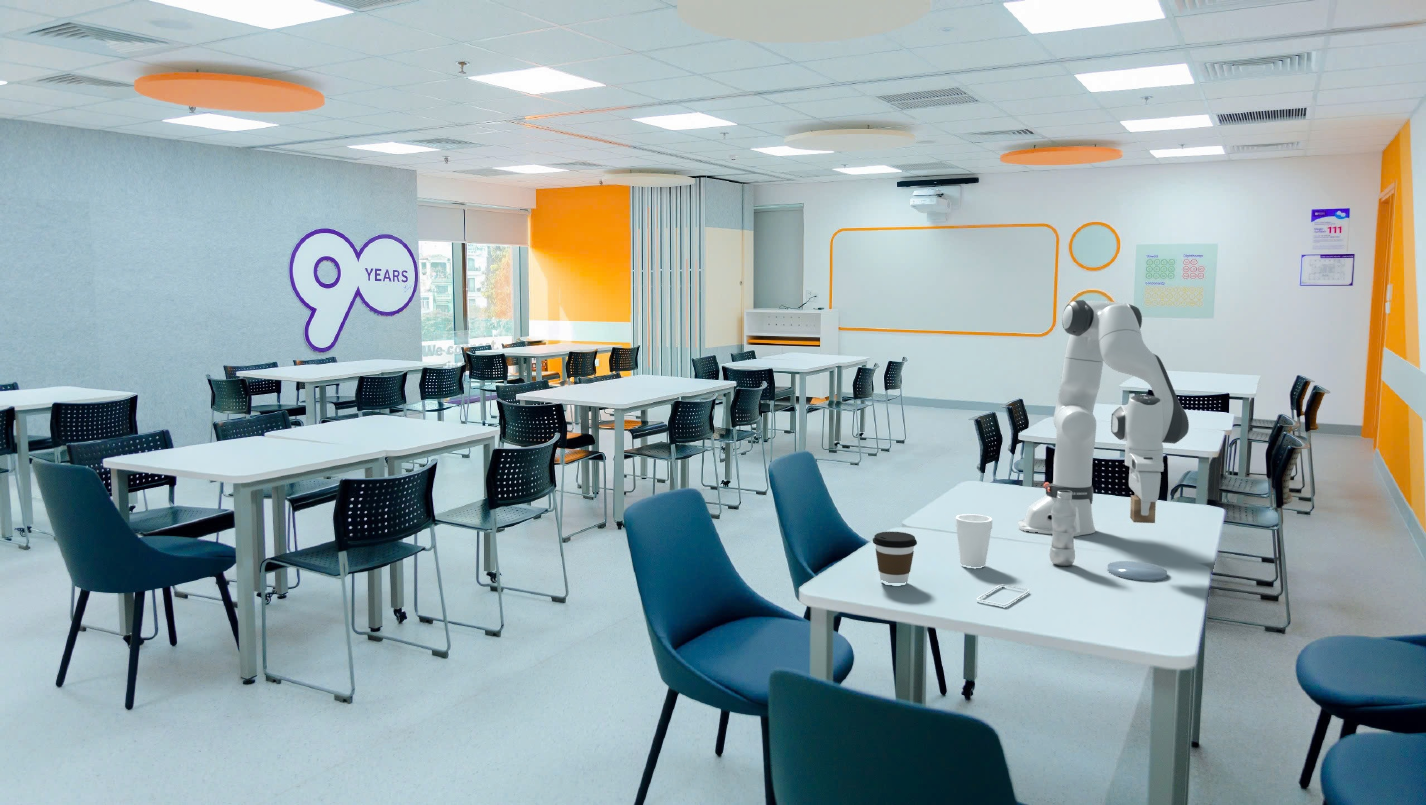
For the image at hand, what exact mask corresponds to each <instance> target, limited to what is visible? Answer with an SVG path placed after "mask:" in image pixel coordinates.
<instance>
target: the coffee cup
mask: <svg viewBox="0 0 1426 805" xmlns="http://www.w3.org/2000/svg"><path fill="white" fill-rule="evenodd" d="M873 536H874V537H873V538H872V544H874V545H875V554H876V555H875V556H876V562H877V567H878V572H879V578H880V581H881V580H883V581H886V582H888V583H905V582H907V583H908V581H909V574H910V572H911V570H912V563H913V558H914V553H915V551H914V547H915V546H917V545H918V541H917V539H916V537H915V535H913V534H911V533H908V532H902V531H882V532H878V533H875V534H874V535H873Z"/></svg>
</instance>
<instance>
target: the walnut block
mask: <svg viewBox="0 0 1426 805" xmlns="http://www.w3.org/2000/svg"><path fill="white" fill-rule="evenodd" d="M1156 503H1157V501H1156V502H1151V504H1150V507H1149V515H1147V516H1146V515H1141V513H1140V507H1141V499H1140V498H1139V497H1138V496H1137V495H1135V494H1134V495H1132V494H1131V495H1130V516H1129V517H1130V519H1131V521H1132V522H1133V523H1142V524H1143V523H1144V524H1156V506H1157V504H1156Z"/></svg>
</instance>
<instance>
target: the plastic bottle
mask: <svg viewBox="0 0 1426 805" xmlns="http://www.w3.org/2000/svg"><path fill="white" fill-rule="evenodd" d="M1057 498H1058V500H1057V501H1056V503H1055V504H1054V505H1053V507H1052V510H1051V514H1052V523H1053V534H1052V536H1051V537H1052V538H1051V546H1050V550H1049V555H1048V556H1049V560H1050V562H1051V564H1054V565H1056V566H1063V567H1064V566H1066V567H1068V566H1071V565H1073V564H1074V563H1075V559H1076V553H1075V552H1076V550H1075V543H1074V539H1075V538H1074V536H1073V535H1074V532H1073V531H1074V525H1075V519H1076V513H1077V511H1076V508H1075V506H1074V505H1073V503H1072V502H1071V499H1072V492H1071V491H1067V490H1058V492H1057Z"/></svg>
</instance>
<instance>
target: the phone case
mask: <svg viewBox="0 0 1426 805" xmlns="http://www.w3.org/2000/svg"><path fill="white" fill-rule="evenodd" d="M1000 586H1008V587H1007V588H1012V589H1018V590H1023V591H1024V592H1023V593H1021V594H1019V595H1018V596H1016V597H1015V598H1012V599H1011V600H1009V601H1008V602H1006V603H999V602H994V601H989V600H986V599H985V600H984V599H981V597H982V598H984V597H985V596H986V594H988V593H990V592H991V591H993V590H994V589H997V588H998V587H1000ZM1025 590H1026V592H1025ZM1028 592H1029V593H1030V589H1027V588H1022V587H1016V586H1012V585H1007V584H1003V583H1002V584H999V585H997V586H995V587H993V588H992V589H990V590H989V591H987V592H985V593H983V594H981V595H980V596H978V597H976V599H975V600H980V601H983V602H988V603H994V604H998V605H1002V606H1006V605H1008V604H1010V603H1012V602H1014V601H1015V600H1017V599H1018V598H1021V597H1022V596H1023V595H1025V594H1027V593H1028ZM984 595H985V596H984ZM983 596H984V597H983ZM979 598H980V599H979Z"/></svg>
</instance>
